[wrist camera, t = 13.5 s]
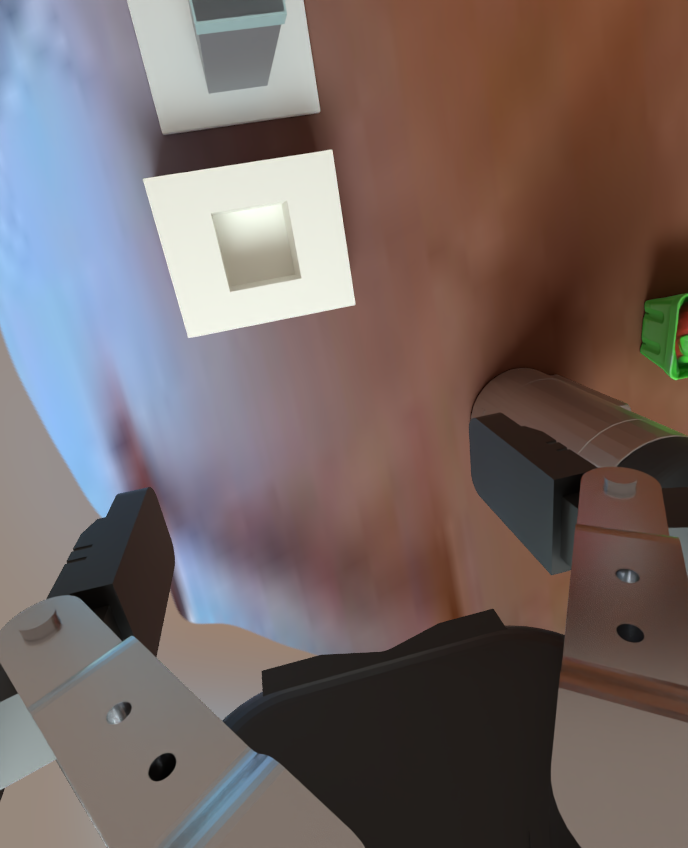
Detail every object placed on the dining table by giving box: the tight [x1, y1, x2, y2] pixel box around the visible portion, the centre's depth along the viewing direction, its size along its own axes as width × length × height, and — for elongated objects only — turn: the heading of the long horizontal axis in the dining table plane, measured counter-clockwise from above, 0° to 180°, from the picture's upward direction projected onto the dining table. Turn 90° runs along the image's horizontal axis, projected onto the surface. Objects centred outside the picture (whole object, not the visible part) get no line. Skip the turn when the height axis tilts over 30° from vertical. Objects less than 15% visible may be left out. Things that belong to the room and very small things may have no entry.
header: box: [143, 150, 355, 338], centre depth 35 cm, size 12×10×5 cm
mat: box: [127, 0, 320, 135], centre depth 33 cm, size 11×8×1 cm
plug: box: [188, 0, 287, 94], centre depth 27 cm, size 4×4×12 cm
